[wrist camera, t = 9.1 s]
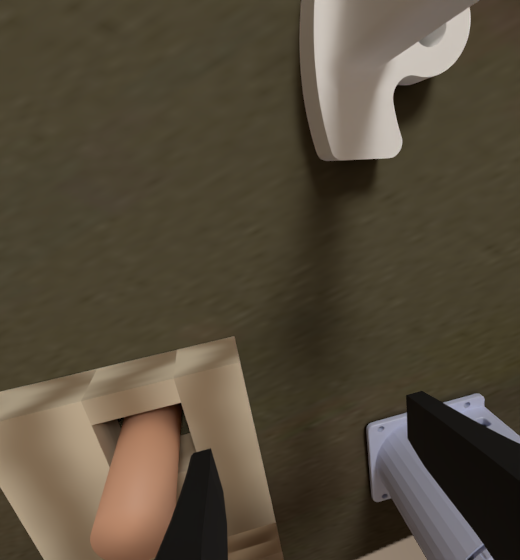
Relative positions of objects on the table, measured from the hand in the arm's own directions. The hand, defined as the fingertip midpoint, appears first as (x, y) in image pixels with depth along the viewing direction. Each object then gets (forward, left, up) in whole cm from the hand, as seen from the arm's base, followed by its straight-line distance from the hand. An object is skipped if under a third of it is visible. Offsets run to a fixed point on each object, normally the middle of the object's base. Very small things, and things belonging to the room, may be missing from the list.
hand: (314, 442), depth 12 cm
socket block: (+9, +8, -10) cm, 16 cm away
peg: (+8, +4, -10) cm, 13 cm away
